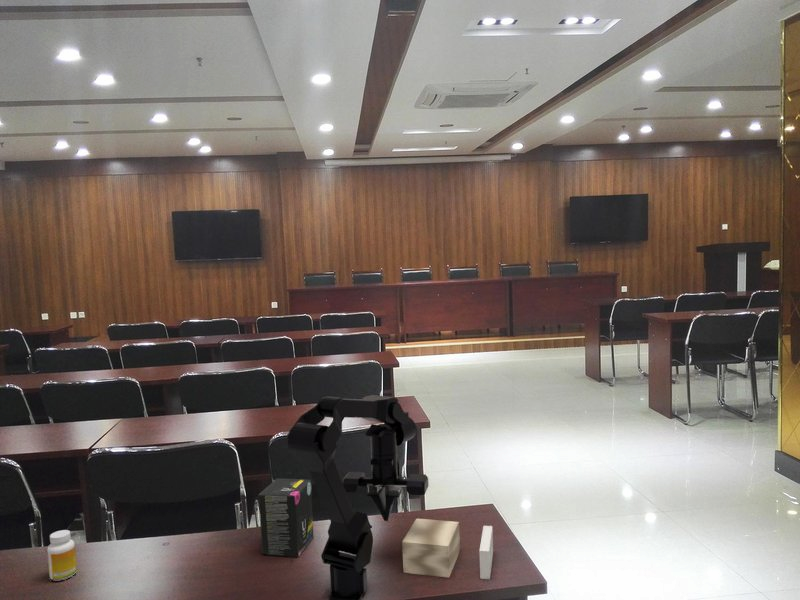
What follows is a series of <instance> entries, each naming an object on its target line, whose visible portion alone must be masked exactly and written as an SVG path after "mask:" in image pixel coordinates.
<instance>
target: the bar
mask: <svg viewBox="0 0 800 600" xmlns="http://www.w3.org/2000/svg"><path fill="white" fill-rule="evenodd" d="M493 533H494V532H493V525H483V527H482V533H481V539H480V540H481V541H480V546H479V551H478V552H479V576H480V577H479V578H480V580H481V579H482V580H490V579H491V574H492V564H493V556H494V539H493V538H494V536H493Z"/></svg>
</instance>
